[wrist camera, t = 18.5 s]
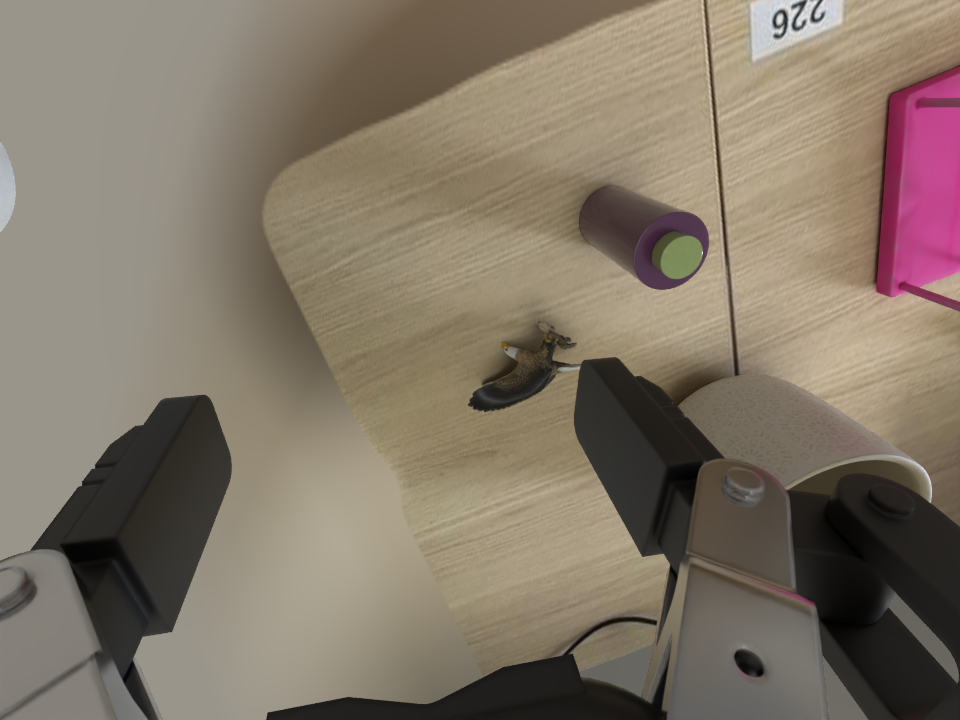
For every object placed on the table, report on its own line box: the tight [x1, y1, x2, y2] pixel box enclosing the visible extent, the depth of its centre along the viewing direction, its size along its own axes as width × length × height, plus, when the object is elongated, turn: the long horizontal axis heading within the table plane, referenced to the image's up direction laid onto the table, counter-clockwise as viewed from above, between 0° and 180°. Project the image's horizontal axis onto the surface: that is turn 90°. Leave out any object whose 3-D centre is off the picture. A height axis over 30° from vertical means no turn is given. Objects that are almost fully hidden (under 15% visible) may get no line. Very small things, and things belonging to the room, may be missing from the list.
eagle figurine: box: [468, 321, 581, 412], centre depth 40 cm, size 8×7×9 cm
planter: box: [678, 375, 932, 502], centre depth 43 cm, size 17×17×15 cm
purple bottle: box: [579, 186, 709, 290], centre depth 32 cm, size 5×5×11 cm
